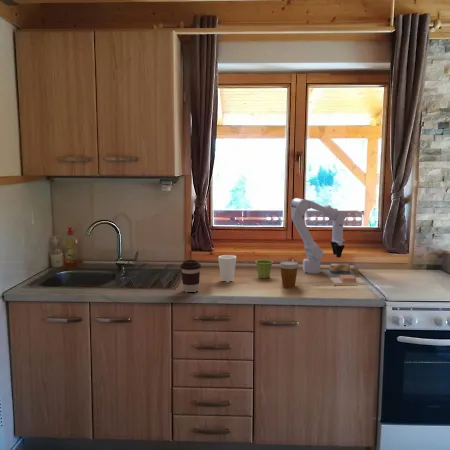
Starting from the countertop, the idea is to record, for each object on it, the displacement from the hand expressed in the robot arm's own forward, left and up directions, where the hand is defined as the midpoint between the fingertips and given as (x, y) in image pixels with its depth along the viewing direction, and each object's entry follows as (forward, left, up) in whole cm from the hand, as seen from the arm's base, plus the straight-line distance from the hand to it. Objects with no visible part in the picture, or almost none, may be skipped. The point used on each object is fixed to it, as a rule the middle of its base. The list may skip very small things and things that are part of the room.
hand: (336, 255), depth 265 cm
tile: (0, -24, -8) cm, 25 cm away
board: (0, -14, -9) cm, 17 cm away
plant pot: (-42, -10, -10) cm, 44 cm away
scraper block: (0, -7, -8) cm, 11 cm away
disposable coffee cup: (-31, -28, -10) cm, 43 cm away
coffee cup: (-80, -36, -10) cm, 88 cm away
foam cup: (-62, -17, -10) cm, 65 cm away
